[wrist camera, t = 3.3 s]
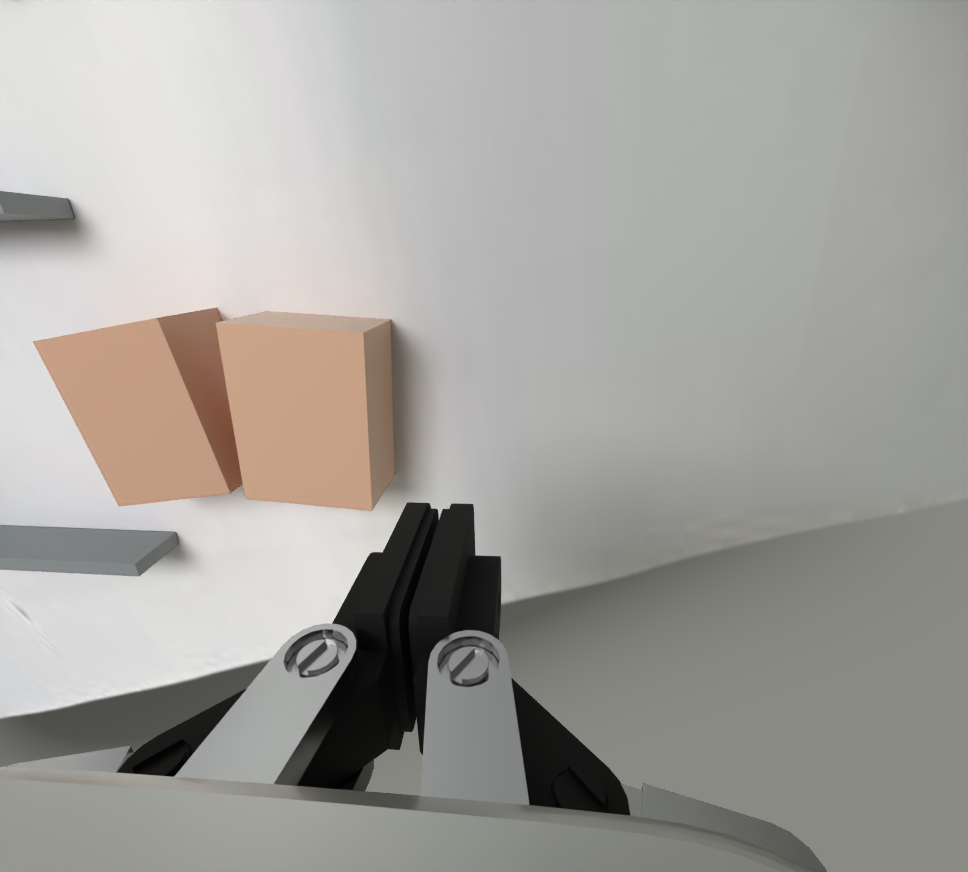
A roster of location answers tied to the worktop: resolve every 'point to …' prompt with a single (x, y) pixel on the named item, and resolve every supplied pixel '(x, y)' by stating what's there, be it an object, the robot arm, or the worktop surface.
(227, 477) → the tile
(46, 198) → the organizer bay
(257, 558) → the worktop surface
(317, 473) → the tile
